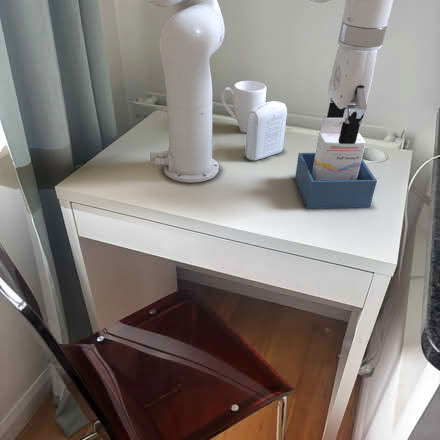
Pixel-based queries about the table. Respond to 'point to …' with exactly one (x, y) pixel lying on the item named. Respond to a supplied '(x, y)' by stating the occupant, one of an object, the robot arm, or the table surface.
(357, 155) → the ink box
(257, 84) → the mug
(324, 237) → the table surface
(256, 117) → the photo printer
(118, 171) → the table surface
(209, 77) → the robot arm
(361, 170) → the holder
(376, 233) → the table surface
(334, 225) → the table surface
